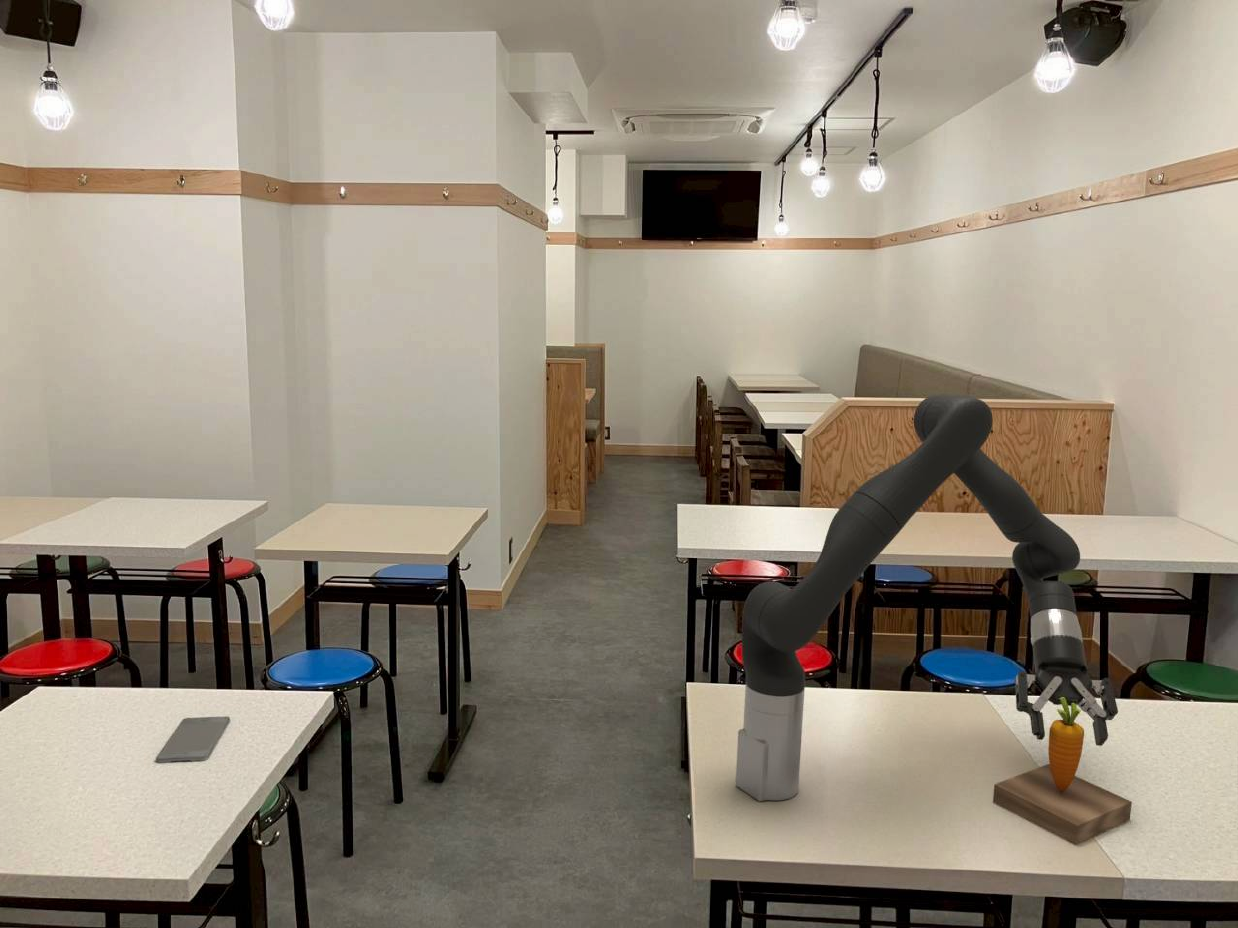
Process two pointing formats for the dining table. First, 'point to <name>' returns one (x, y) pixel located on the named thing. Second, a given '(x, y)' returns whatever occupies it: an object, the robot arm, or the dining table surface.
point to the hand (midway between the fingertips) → (1070, 740)
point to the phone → (193, 739)
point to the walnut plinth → (1062, 804)
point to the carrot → (1065, 746)
